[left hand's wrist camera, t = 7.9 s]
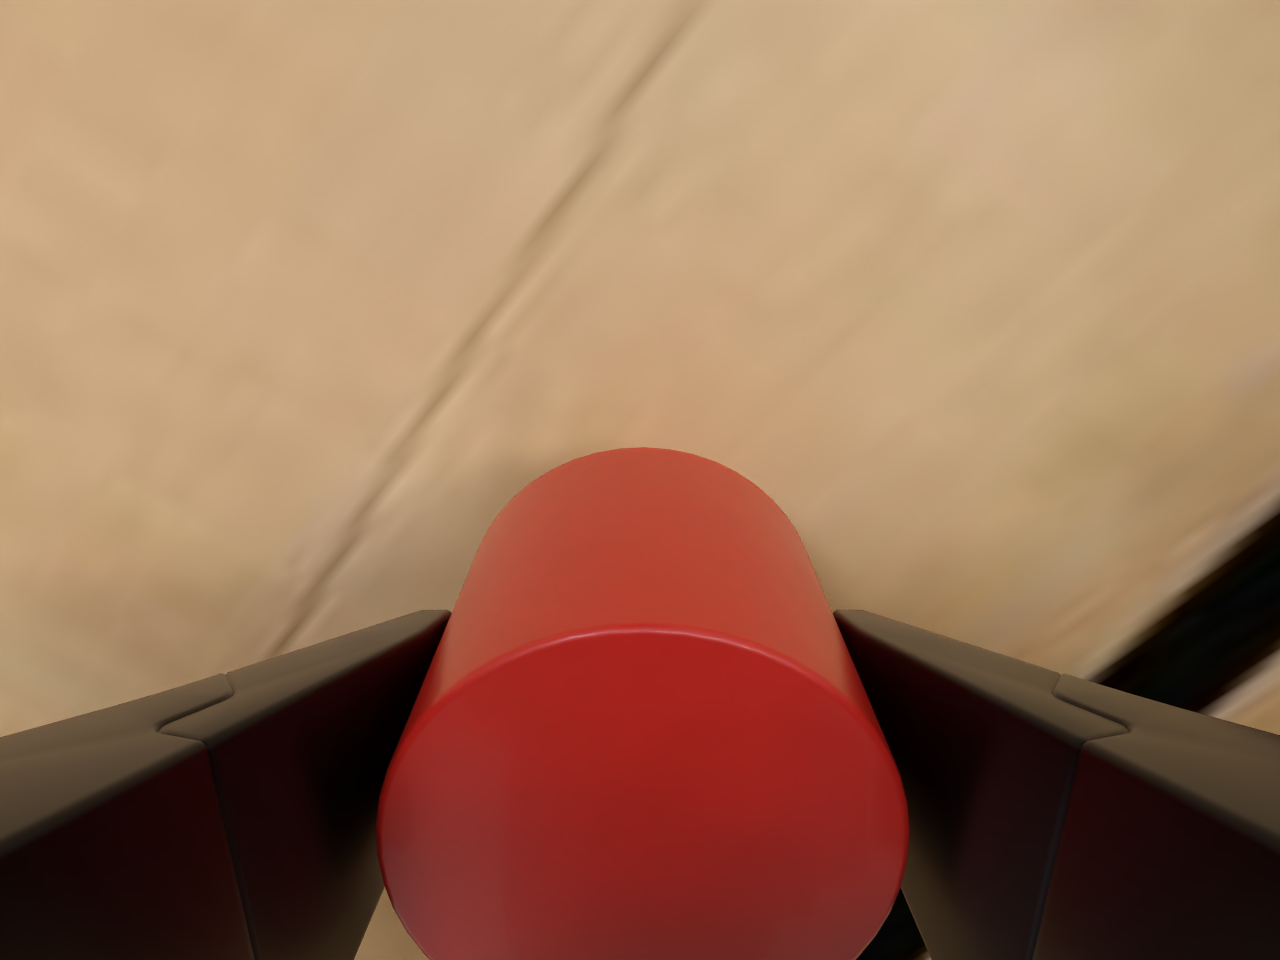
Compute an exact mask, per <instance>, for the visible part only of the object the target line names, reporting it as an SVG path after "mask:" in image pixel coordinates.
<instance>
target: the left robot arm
mask: <svg viewBox="0 0 1280 960" xmlns="http://www.w3.org/2000/svg"><path fill="white" fill-rule="evenodd" d="M451 614H452V613H451V612H450V611H448V610H421V611H418V612H414V613H411V614H408V615H405V616H402V617H399V618H396V619H393V620H390V621H387V622H383V623H380V624H377V625H374V626H371V627H368V628H365V629H362V630H359V631H355V632H352V633H349V634H346V635H343V636H340V637H337V638H334V639H331V640H328V641H324V642H321V643H318V644H315V645H312V646H309V647H306V648H303V649H300V650H297V651H293V652H290V653H287V654H284V655H281V656H278V657H275V658H272V659H269V660H266V661H262V662H259V663H256V664H253V665H250V666H247V667H244V668H241V669H238V670H234V671H231V672H228V673H227V674H226V676H225V675H224V674H218V675H215V676H212V677H209V678H206V679H203V680H200V681H197V682H193V683H190V684H187V685H184V686H180V687H177V688H174V689H171V690H167V691H164V692H161V693H158V694H154V695H151V696H147V697H144V698H140V699H137V700H133V701H130V702H126V703H123V704H119V705H116V706H113V707H109V708H106V709H102V710H98V711H95V712H91V713H87V714H84V715H80V716H76V717H73V718H69V719H66V720H62V721H58V722H55V723H51V724H47V725H44V726H40V727H37V728H33V729H29V730H26V731H22V732H18V733H15V734H11V735H7V736H4V737H0V960H354V958H355V956H356V953H357V951H358V948H359V946H360V944H361V941H362V939H363V937H364V934H365V932H366V929H367V927H368V925H369V922H370V920H371V918H372V915H373V913H374V910H375V908H376V906H377V903H378V901H379V899H380V896H381V894H382V891H383V889H384V887H385V885H384V883H383V878H382V874H381V869H380V864H379V860H378V855H377V842H376V817H377V809H378V802H379V795H380V792H381V788H382V785H383V782H384V779H385V775H386V772H387V769H388V766H389V764H390V761H391V759H392V757H393V754H394V752H395V749H396V747H397V744H398V742H399V740H400V737H401V735H402V732H403V730H404V727H405V725H406V723H407V720H408V718H409V715H410V713H411V711H412V708H413V706H414V703H415V701H416V698H417V696H418V694H419V691H420V689H421V686H422V684H423V682H424V679H425V677H426V674H427V672H428V669H429V667H430V665H431V662H432V660H433V657H434V655H435V652H436V650H437V648H438V645H439V643H440V640H441V638H442V636H443V633H444V631H445V628H446V626H447V623H448V621H449V619H450V616H451ZM833 616H834V618H835V620H836V623H837V625H838V627H839V630H840V632H841V635H842V637H843V639H844V642H845V644H846V646H847V649H848V651H849V654H850V656H851V658H852V661H853V663H854V665H855V668H856V670H857V673H858V675H859V677H860V680H861V682H862V684H863V687H864V689H865V691H866V694H867V696H868V699H869V701H870V703H871V706H872V708H873V710H874V713H875V715H876V718H877V720H878V722H879V725H880V727H881V729H882V732H883V734H884V736H885V739H886V741H887V744H888V746H889V748H890V751H891V753H892V755H893V758H894V760H895V763H896V765H897V767H898V770H899V772H900V775H901V778H902V782H903V786H904V790H905V793H906V797H907V801H908V811H909V823H910V836H909V849H908V859H907V864H906V868H905V872H904V876H903V880H902V884H901V889H902V891H903V894H904V896H905V898H906V901H907V903H908V905H909V908H910V910H911V912H912V915H913V917H914V919H915V922H916V924H917V926H918V929H919V931H920V933H921V936H922V938H923V940H924V943H925V945H926V948H927V950H928V952H929V955H930V957H931V959H932V960H1280V735H1276V734H1273V733H1269V732H1265V731H1262V730H1258V729H1255V728H1251V727H1247V726H1244V725H1240V724H1236V723H1233V722H1229V721H1225V720H1222V719H1218V718H1214V717H1211V716H1207V715H1203V714H1200V713H1196V712H1192V711H1189V710H1185V709H1181V708H1178V707H1174V706H1171V705H1167V704H1164V703H1160V702H1157V701H1153V700H1150V699H1146V698H1143V697H1139V696H1136V695H1132V694H1129V693H1126V692H1122V691H1119V690H1116V689H1112V688H1109V687H1106V686H1103V685H1099V684H1096V683H1093V682H1090V681H1086V680H1083V679H1080V678H1077V677H1074V676H1071V675H1067V674H1062V675H1061V676H1060V674H1059V673H1057V672H1054V671H1051V670H1048V669H1045V668H1042V667H1039V666H1036V665H1032V664H1029V663H1026V662H1023V661H1020V660H1017V659H1014V658H1011V657H1007V656H1004V655H1001V654H998V653H995V652H992V651H989V650H986V649H982V648H979V647H976V646H973V645H970V644H967V643H964V642H960V641H957V640H954V639H951V638H948V637H945V636H942V635H939V634H935V633H932V632H929V631H926V630H923V629H920V628H917V627H914V626H910V625H907V624H904V623H901V622H898V621H895V620H892V619H888V618H885V617H882V616H879V615H876V614H873V613H870V612H867V611H863V610H836V611H834V612H833Z"/></svg>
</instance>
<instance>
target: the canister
mask: <svg viewBox="0 0 1280 960" xmlns="http://www.w3.org/2000/svg"><path fill="white" fill-rule="evenodd" d="M909 836H910V823H909V811H908V801H907V797H906V793H905V790H904V786H903V782H902V778H901V775H900V772H899V770H898V767H897V765H896V763H895V760H894V758H893V755H892V753H891V751H890V748H889V746H888V744H887V741H886V739H885V736H884V734H883V732H882V729H881V727H880V725H879V722H878V720H877V718H876V715H875V713H874V710H873V708H872V706H871V703H870V701H869V699H868V696H867V694H866V691H865V689H864V687H863V684H862V682H861V680H860V677H859V675H858V673H857V670H856V668H855V665H854V663H853V661H852V658H851V656H850V654H849V651H848V649H847V646H846V644H845V642H844V639H843V637H842V635H841V632H840V630H839V627H838V625H837V623H836V620H835V618H834V616H833V613H832V611H831V609H830V606H829V604H828V601H827V599H826V597H825V594H824V592H823V590H822V587H821V585H820V582H819V580H818V578H817V575H816V573H815V571H814V568H813V566H812V564H811V561H810V559H809V556H808V554H807V552H806V550H805V547H804V545H803V543H802V541H801V538H800V536H799V534H798V533H797V531H796V530H795V528H794V526H793V525H792V523H791V522H790V520H789V519H788V517H787V516H786V515H785V513H784V512H783V511H782V510H781V509H780V508H779V506H778V505H777V504H776V503H775V502H774V501H773V500H772V499H771V498H770V497H769V496H768V495H767V494H766V493H764V492H763V491H762V490H761V489H760V488H759V487H758V486H756V485H755V484H754V483H752V482H751V481H749V480H748V479H746V478H745V477H743V476H742V475H740V474H739V473H737V472H735V471H733V470H731V469H729V468H727V467H725V466H723V465H721V464H719V463H717V462H714V461H711V460H708V459H706V458H703V457H700V456H697V455H694V454H689V453H684V452H679V451H675V450H670V449H657V448H625V449H616V450H610V451H604V452H599V453H594V454H591V455H588V456H585V457H581V458H578V459H575V460H572V461H570V462H568V463H565V464H563V465H561V466H559V467H557V468H554V469H552V470H550V471H549V472H547V473H546V474H544V475H542V476H541V477H539V478H538V479H536V480H534V481H533V482H531V483H530V484H529V485H528V486H527V487H525V488H524V489H523V490H522V491H521V492H519V493H518V494H517V495H516V496H514V498H513V499H512V500H511V501H510V502H509V503H508V504H507V505H506V506H505V507H504V508H503V510H502V511H501V512H500V513H499V514H498V516H497V517H496V519H495V520H494V522H493V523H492V524H491V526H490V527H489V529H488V530H487V532H486V534H485V536H484V538H483V540H482V542H481V545H480V547H479V549H478V551H477V553H476V556H475V558H474V560H473V563H472V565H471V568H470V570H469V573H468V575H467V577H466V580H465V582H464V585H463V587H462V590H461V592H460V594H459V597H458V599H457V602H456V604H455V606H454V609H453V611H452V614H451V616H450V619H449V621H448V623H447V626H446V628H445V631H444V633H443V636H442V638H441V640H440V643H439V645H438V648H437V650H436V652H435V655H434V657H433V660H432V662H431V665H430V667H429V669H428V672H427V674H426V677H425V679H424V682H423V684H422V686H421V689H420V691H419V694H418V696H417V698H416V701H415V703H414V706H413V708H412V711H411V713H410V715H409V718H408V720H407V723H406V725H405V727H404V730H403V732H402V735H401V737H400V740H399V742H398V744H397V747H396V749H395V752H394V754H393V757H392V759H391V761H390V764H389V766H388V769H387V772H386V775H385V779H384V782H383V785H382V788H381V792H380V795H379V802H378V809H377V817H376V842H377V855H378V860H379V864H380V869H381V874H382V878H383V883H384V885H385V888H386V890H387V893H388V896H389V898H390V901H391V903H392V906H393V908H394V910H395V912H396V913H397V915H398V917H399V919H400V920H401V922H402V924H403V926H404V927H405V929H406V931H407V932H408V934H409V935H410V936H411V937H412V939H413V940H414V941H415V943H416V944H417V945H418V946H419V948H420V949H421V950H422V952H423V953H424V954H425V955H426V956H427V957H428V958H429V959H430V960H855V959H856V958H858V956H859V955H860V954H861V953H862V952H863V950H864V949H865V948H866V947H867V946H868V944H869V943H870V942H871V941H872V939H873V938H874V937H875V936H876V934H877V933H878V931H879V929H880V928H881V926H882V924H883V923H884V921H885V920H886V918H887V916H888V915H889V913H890V911H891V909H892V906H893V904H894V902H895V899H896V897H897V895H898V892H899V890H900V888H901V884H902V880H903V876H904V872H905V868H906V864H907V859H908V849H909Z"/></svg>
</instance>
